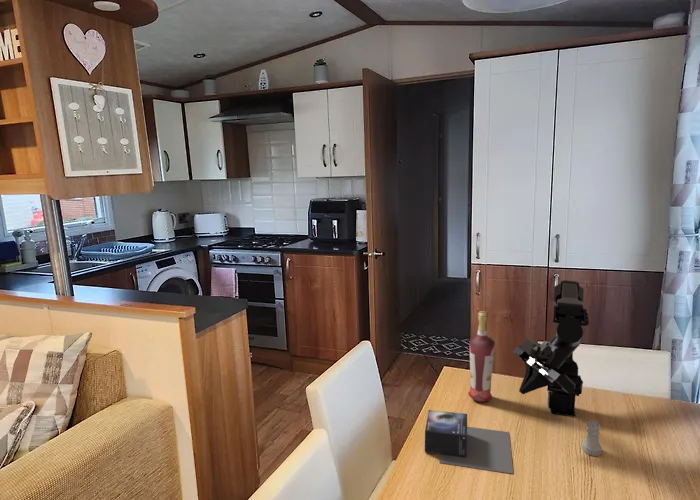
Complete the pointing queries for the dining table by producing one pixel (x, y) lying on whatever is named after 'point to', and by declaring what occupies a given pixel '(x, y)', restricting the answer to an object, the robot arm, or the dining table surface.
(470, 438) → the mat
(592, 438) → the rook chess piece
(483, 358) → the liquor
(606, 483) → the dining table surface
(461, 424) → the small box
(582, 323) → the robot arm
